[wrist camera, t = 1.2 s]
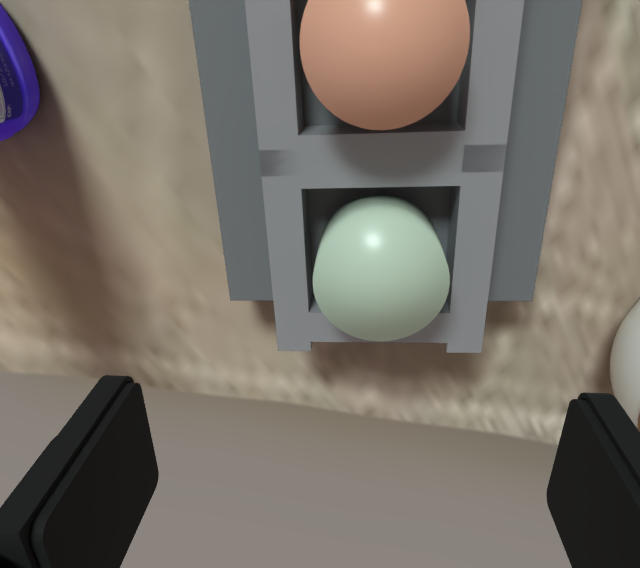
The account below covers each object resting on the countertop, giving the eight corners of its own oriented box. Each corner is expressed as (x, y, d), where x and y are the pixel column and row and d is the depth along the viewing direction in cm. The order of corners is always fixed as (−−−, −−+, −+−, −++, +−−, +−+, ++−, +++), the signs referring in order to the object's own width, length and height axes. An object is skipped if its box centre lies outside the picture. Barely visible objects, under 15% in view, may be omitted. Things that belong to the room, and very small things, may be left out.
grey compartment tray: (617, -438, 15) (722, -629, 11) (511, 298, 26) (540, 353, 22) (163, -381, 16) (89, -532, 12) (246, 298, 28) (224, 350, 23)
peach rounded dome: (459, -49, 16) (478, -64, 14) (448, 113, 19) (462, 128, 16) (305, -40, 17) (294, -52, 14) (312, 117, 19) (304, 132, 16)
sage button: (443, 192, 20) (455, 218, 17) (435, 303, 22) (444, 342, 20) (316, 194, 20) (309, 220, 18) (321, 303, 23) (315, 340, 20)
